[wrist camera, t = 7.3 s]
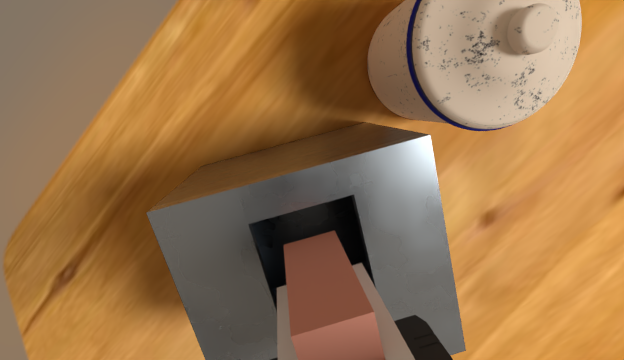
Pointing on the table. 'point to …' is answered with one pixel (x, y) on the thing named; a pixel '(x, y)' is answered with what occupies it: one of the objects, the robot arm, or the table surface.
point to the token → (328, 303)
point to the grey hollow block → (308, 233)
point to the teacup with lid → (473, 59)
